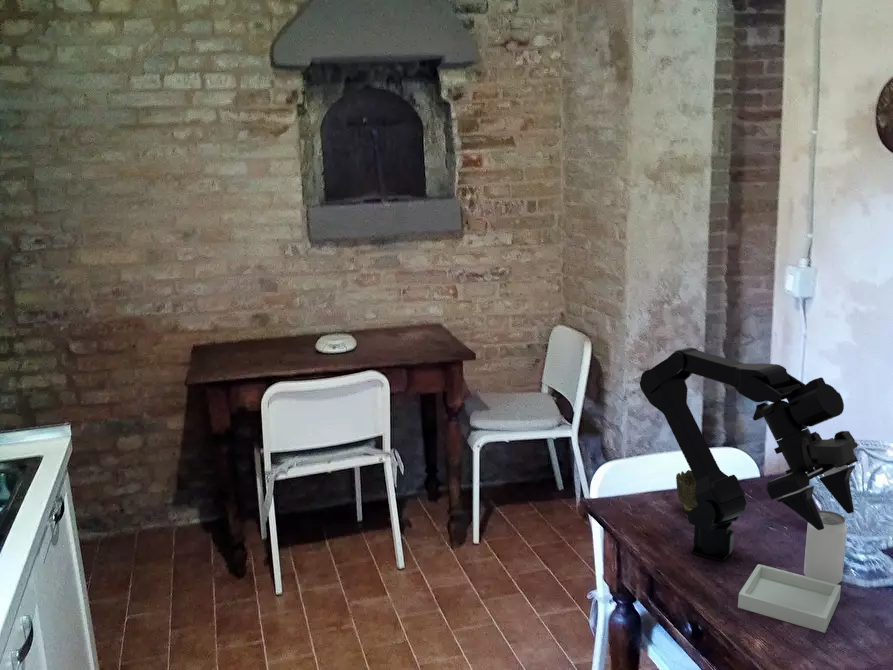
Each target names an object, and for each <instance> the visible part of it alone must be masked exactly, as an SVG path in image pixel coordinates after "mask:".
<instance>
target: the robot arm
mask: <svg viewBox="0 0 893 670" xmlns="http://www.w3.org/2000/svg"><path fill="white" fill-rule="evenodd" d="M692 375H696V376H699V377H703V378H705V379H709V380H713V381H715V382H718V383H722V384H725V385H727V386H731V387H732V388H734V389H735V390H736V391H737V392H738V394H739V395H741V396H743V397H745V398H746V399H749V400H751V401H752V402H755V403H759V404H757V405H756V407H755V408H756V409H755V411H754V412H753V416H752V420H753V421H758V420H761V419H764V421H765V423H766V425H767V426H768V428H769V431H770V432H771V434H772V436H773V439H774V440H775V442H776V444H777V447H775V448H773V449H774V452H775V454H776V455H779V454H782V456H783V457H784V460H785V461H786V464H787V465H788V468H789V469H787V470H785V473H786V474H783V475H781V476H778V477H777V478H774V479H772V480H771V481H768V482H767V483H766V487H765V491H766V492H767V495H768V497H769V498H770V500H775V499H776V501H777V503H782V504H784V505H785V506H787V508H789V509H791V510H792V511H794V512H795V514H798V515H799V516H800V518H802V519H804V521H805V522H807V523H808V522H809V523H810V524H811V525H812V526H813V527H815V528H816V529H817V530H822V529H824V526H823V523H822V520H821V517H820V515H819V513H818V508H817V506H816V504H815V501H814V499H813V493H814V489H815V486H814V485H811V486H810V480H812V479H814V478H816V477H818V476H821V477H819V478H818V479H819V481H820V482H821V483H822V485H824V487H825V489H827V491H828V492H829V493H830V494H831V495H832V497H833V498H834V499H835V501H836V502H837V503H838V505H839V506H840V507H841V508H842V509H843V510H844V512H846V513H847V514H852V513H854V512H855V508H854V503H853V497H852V490H851V484H850V477H851V475H852V473H853V470H854V469H855V468H856V464H855V463H856V462H858V461H859V460H858V459H857V456H856V454H855V451H854V450H855V449H857V448H858V447H859V445H858V443H857V442H856V440H855V437H853V436H852V434H851V432H850V431H849V430H840V431H838V432H836V433H835V434H834V437H831V438H828V439H827V438H826V439H822V437H821V435H820V434H819V432H817V431H813V432H812V433H811V431H810V429H809V427H814V426H816V425H819V424H822V423H824V422H827V421H829V420H831V419H833V418H836V417H839V416H841V415H842V414H843V412H844V409H845V408H844V407H845V405H844V399H843V396H842V395H841V393H840V392H839V391H838V390H837V389H836V388H835V387H833V386H832V385H831V384H828V383H827V382H825V380H824V378H823V377H818V378H815V379H812V380H809V381H808V382H807V383H806V384H805V383H804V382H802V381H801V380H799V379H798V378H796V377H794V376H793V375H791V374H790V373H788V372H787V369H786V368H785V366H783V365H781V364H777V363H762V362H761V363H760V362H759V363H747V362H746V363H744V362H740V361H736V360H733V359H730V358H729V359H728V358H726V357H723V356H720V355H715V354H712V353H708V352H705V351H702V350H699V349H698V348H695V347H686V348H682V349H678V350H675V351H674V352H673V353H671V354H670V355H669V356H668V357H667V358H665V359H664V360H662V361H661V362H659V363H658V364H656V365H654V366H653V367H651V368H648V369H646V370H644V371H643V372H642V374H641V376H640V381H639V387H640V389H641V391H642V393H643V395H644V396H645V398H646V399H647V401H648V402H649V404H650V405H651V406H653V407H654V409H657V410H659V412H661V413H662V414H663V416H664V419H666V422H667V424H668V426H669V428H670V430H671V432H672V434H673V436H674V438H675V440H676V442H677V444H678V446H679V449H680V450H681V452H682V455H683V457H684V459H685V460H686V463H687V465H688V467H689V470H690V471H692V473H693V475H694V477H695V480H696V490H695V497H696V500H697V503H698V506H696V507H695V508H693V509H692V510H690V511H689V512H686V515H687V518H688V524H690V525H691V526H694V530H693V531H694V533H693V545H692V546H693V547H691V549H690V551H689V552H690V554H692V555H696V556H699V557H700V556H701V557H704V558H706V559H707V558H708V559H711V560H715V561H718V562H724V561H725V560H726V559H727V558H728V557H729V556H730V555H731V554H732V552H733V551H734V540H735V531H734V530H732V527H733V525H732V524H733V522H736V521H738V520H739V517H740V516H741V515H743V514H744V512H745V510H746V505H747V500H746V498H745V496H744V495H746V492H745V491H744V490H743V488H742V487H741V485H740V482H739V480H738V477H737V476H736V475H735V474H731V475H727V474H725V473H724V472H723V471H722V470H721V469H720V466H719V465H718V463H717V461H716V460H715V456H713V452H712V451H711V449H710V447H709V445H708V443H707V441H706V439H705V437H704V435H703V432H702V431H701V429H700V427H699V425H698V423H697V421H696V419H695V416H694V415H693V413H692V411H691V409H690V407H689V405H688V385H687V383H686V381H687V380H688V379H690V377H691V376H692ZM766 401H767V402H770V404H769V403H767V402H766ZM853 464H854V465H853ZM850 465H851V466H850Z"/></svg>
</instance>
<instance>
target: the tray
mask: <svg viewBox="0 0 893 670" xmlns="http://www.w3.org/2000/svg"><path fill="white" fill-rule="evenodd" d="M841 589H842V585H840V584H833V583H830V582H826V581H822V580H818V579H814V578H810V577H807V576H805V575H802V574H798V573H794V572H790V571H787V570H783V569H780V568H777V567H776V568H775V567H773V566H767V565H765V564H759V563H757V565H756V567H755V568H754V570H753V571H752V572H751V574H750V576H749V577H748V579H747V580H746V582H745V584H744V585H743V586H742V588H741V589H740V591H739V593H738V597H737V599H738V600H737V602H738V603H737V608H738V609H741V610H745V611H748V612H752V613H756V614H759V615H762V616H766V617H769V618H772V619H777V620H780V621H783V622H787V623H790V624H793V625H796V626H800V627H802V628H803V627H804V628H807V629H811V630H814V631H818V632H820V633H824V634H825V633H826V631H827V630H828V626H829V624H830V622H831V620H832V617H833V616H834V613H835V610H836V608H837V606H838V603H839V601H840V599H841Z"/></svg>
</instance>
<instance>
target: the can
mask: <svg viewBox="0 0 893 670" xmlns="http://www.w3.org/2000/svg"><path fill="white" fill-rule="evenodd" d="M817 510H818V509H817ZM818 513H819V515H820V517H821V520H822V523H823V526H824V529H822V530H817V529H816V528H815V527H813V526H812V525H811V524H810V523H809V522H807V526H806V527H807V528H806V536H805V540H806V541H805V551H804V562H803V564H804V565H803V574H804V575H803V576H807V577H810V578H814V579H818V580H822V581H826V582H830V583H833V584H837V585H839V584H840V583H841V582H842V581H843V574H844V567H845V556H846V555H845V554H846V544H847V533H848V532H847V531H848V529H847V528H848V527H847V525H846V522H845V521H846V518H845V517H844V516H843V515H842V514H840V513H838V512H835V511H832V510H826V509H825V510H824V509H822V510H818Z"/></svg>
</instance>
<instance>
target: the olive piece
mask: <svg viewBox="0 0 893 670" xmlns="http://www.w3.org/2000/svg"><path fill="white" fill-rule="evenodd" d="M675 482H676V490H677V491H676V492H677V493H676V494H677V497H678V499H679V502H680V503H681V504H682V505H683V509H684V511H685V512H686V513H687V512H689V511H690V510H692V509H693V508H695V507H696V506H698V503H697V500H696V497H695V490H696V480H695V477H694V475H693V473H692V471H691V469H688V470H686V471H685V472H684V471H683V470H682V471H680V472H677V473H676V476H675Z"/></svg>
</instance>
